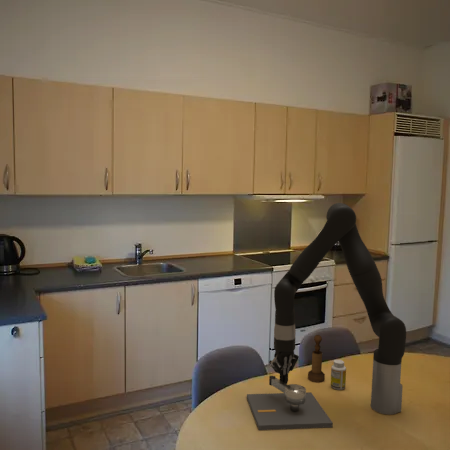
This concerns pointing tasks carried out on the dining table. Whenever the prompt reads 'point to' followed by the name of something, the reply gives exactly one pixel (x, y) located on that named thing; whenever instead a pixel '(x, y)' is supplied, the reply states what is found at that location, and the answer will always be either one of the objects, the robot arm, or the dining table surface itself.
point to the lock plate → (286, 412)
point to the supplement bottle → (338, 375)
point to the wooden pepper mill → (316, 363)
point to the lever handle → (290, 392)
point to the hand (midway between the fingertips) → (283, 383)
